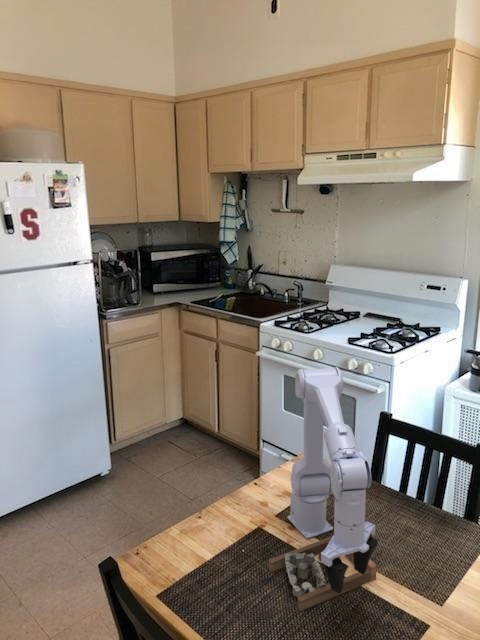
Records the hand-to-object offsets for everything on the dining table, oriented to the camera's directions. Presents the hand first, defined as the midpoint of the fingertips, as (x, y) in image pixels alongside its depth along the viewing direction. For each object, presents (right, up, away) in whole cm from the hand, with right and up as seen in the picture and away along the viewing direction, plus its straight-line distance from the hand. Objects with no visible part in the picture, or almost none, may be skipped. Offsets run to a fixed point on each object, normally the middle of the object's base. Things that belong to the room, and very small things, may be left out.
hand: (348, 580), depth 101 cm
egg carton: (-7, -7, +12) cm, 16 cm away
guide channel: (-4, -6, +14) cm, 15 cm away
